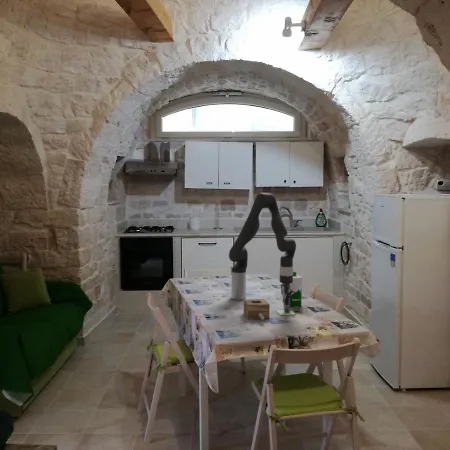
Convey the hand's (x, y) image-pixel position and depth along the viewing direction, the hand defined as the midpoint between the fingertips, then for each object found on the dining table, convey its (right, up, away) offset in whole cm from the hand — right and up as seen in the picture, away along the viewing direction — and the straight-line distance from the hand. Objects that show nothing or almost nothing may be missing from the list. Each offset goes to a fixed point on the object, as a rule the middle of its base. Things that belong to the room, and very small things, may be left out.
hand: (285, 303), depth 265 cm
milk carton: (+7, -4, +18) cm, 20 cm away
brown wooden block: (-17, -6, -10) cm, 20 cm away
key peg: (+1, -4, +1) cm, 4 cm away
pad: (0, -5, 0) cm, 6 cm away
